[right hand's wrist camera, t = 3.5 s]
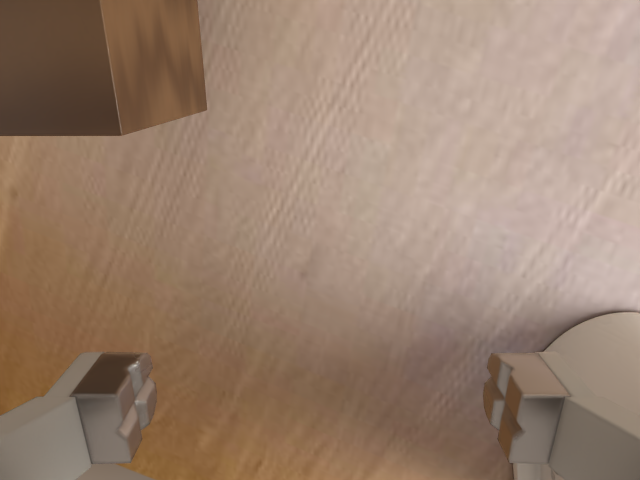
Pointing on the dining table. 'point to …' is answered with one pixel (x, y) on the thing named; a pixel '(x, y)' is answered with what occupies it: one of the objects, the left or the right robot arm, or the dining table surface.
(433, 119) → the dining table surface
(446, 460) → the dining table surface
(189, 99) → the box
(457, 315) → the dining table surface
